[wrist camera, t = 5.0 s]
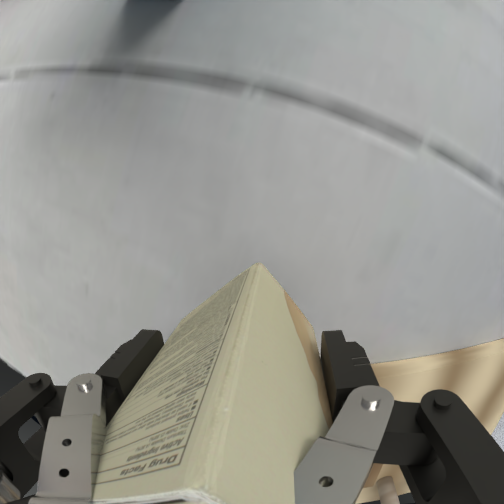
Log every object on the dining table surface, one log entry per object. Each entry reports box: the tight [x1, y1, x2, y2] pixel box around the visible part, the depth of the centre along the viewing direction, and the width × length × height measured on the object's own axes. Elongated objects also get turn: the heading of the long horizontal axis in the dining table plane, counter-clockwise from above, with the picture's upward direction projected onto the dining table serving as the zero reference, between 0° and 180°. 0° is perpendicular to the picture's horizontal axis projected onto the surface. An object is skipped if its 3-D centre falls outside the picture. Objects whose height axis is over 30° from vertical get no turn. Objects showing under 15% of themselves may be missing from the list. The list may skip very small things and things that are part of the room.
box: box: [93, 263, 333, 504], centre depth 8 cm, size 5×4×11 cm
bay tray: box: [355, 338, 504, 504], centre depth 14 cm, size 18×16×5 cm
